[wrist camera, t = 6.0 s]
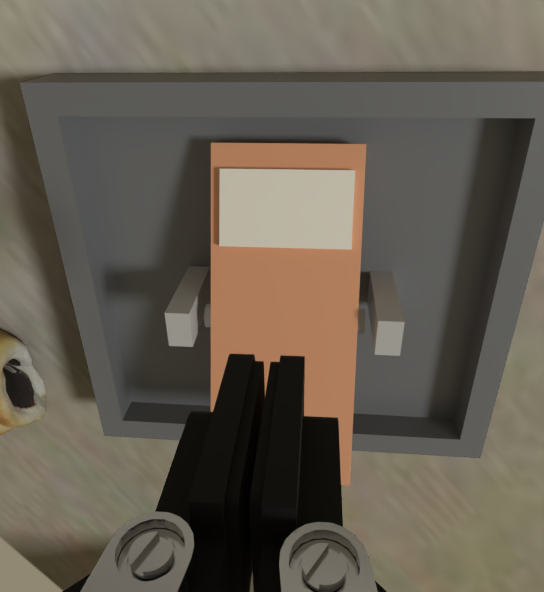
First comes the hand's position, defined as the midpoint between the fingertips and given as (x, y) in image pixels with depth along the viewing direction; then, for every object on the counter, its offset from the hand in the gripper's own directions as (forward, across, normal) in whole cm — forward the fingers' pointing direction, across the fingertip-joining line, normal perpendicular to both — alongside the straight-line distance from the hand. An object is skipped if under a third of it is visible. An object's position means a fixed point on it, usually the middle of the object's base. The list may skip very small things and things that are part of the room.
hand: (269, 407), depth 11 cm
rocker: (+9, 0, +3) cm, 10 cm away
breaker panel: (+14, 0, +3) cm, 14 cm away
